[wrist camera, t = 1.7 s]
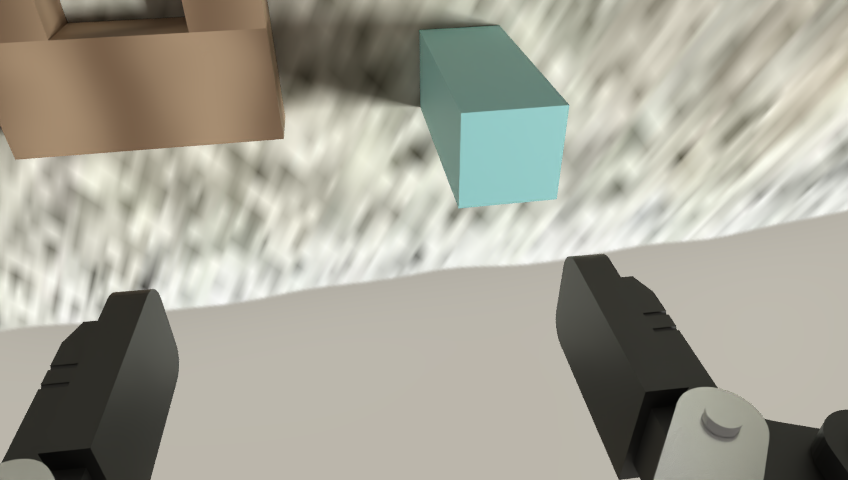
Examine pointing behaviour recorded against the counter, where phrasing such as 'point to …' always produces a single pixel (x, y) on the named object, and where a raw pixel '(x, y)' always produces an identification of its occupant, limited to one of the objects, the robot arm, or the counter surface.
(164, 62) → the board
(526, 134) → the square peg
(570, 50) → the counter surface
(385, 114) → the counter surface
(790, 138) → the counter surface
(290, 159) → the counter surface
